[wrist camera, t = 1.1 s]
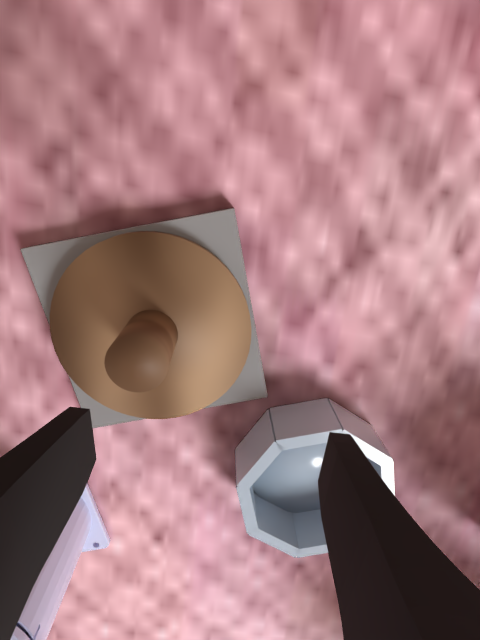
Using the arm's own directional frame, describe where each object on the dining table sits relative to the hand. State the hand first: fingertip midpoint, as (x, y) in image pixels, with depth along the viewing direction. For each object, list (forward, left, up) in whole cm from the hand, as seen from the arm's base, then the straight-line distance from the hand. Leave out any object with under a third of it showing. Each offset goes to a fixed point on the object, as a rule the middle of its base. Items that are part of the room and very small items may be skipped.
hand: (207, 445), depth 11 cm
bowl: (+4, -12, -13) cm, 18 cm away
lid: (-4, 0, -12) cm, 12 cm away
